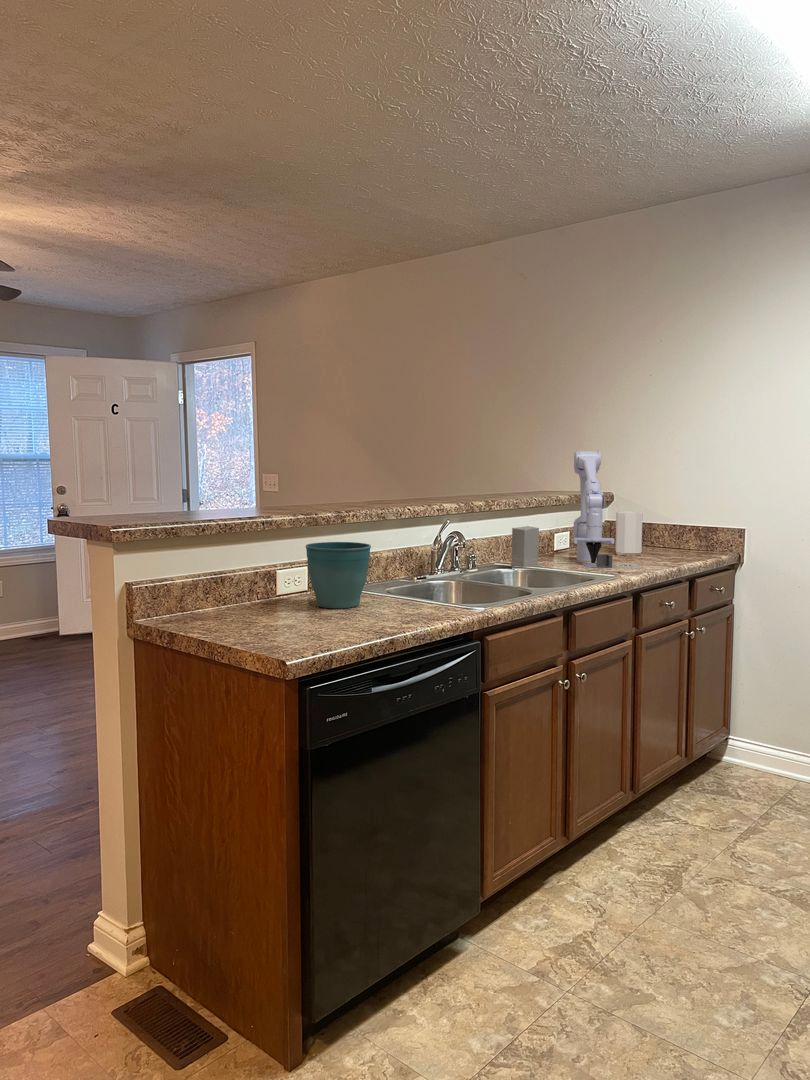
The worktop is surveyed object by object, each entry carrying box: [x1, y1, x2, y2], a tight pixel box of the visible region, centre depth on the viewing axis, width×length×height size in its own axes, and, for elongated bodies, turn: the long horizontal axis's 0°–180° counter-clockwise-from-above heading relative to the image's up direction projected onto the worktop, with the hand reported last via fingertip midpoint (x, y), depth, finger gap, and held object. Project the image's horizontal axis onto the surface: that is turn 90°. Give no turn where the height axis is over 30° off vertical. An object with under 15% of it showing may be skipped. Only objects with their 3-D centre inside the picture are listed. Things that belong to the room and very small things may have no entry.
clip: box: [596, 553, 613, 567], centre depth 297 cm, size 5×5×4 cm
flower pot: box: [305, 541, 372, 609], centre depth 223 cm, size 18×18×17 cm
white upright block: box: [614, 510, 644, 553], centre depth 344 cm, size 11×11×18 cm
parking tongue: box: [554, 561, 579, 566], centre depth 304 cm, size 8×8×2 cm
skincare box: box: [510, 525, 540, 568], centre depth 298 cm, size 8×7×16 cm
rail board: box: [581, 562, 644, 570], centre depth 298 cm, size 14×20×2 cm
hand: (593, 562), depth 298 cm, fingers closed
